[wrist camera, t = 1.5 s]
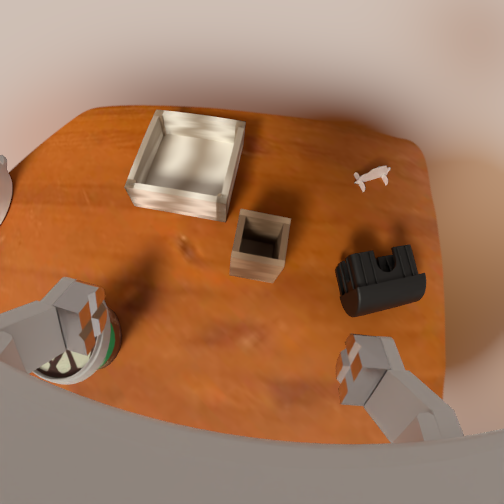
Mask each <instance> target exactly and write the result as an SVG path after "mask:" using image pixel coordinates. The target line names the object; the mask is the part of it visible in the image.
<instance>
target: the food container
mask: <svg viewBox="0 0 504 504" xmlns="http://www.w3.org/2000/svg"><path fill="white" fill-rule="evenodd" d="M102 303H103V304H104V305H105V307H106V308H107V321H106V324H105V328H104V330H103V332H102V333H101V334H100V335H98V336H96V337H95V342H96V343H95V345H94V346H93V348H92V350H91V351H90V353H89V355H88V356H86V355H82V354H79V353H76V352H73V351H69V350H66V351H65V352H63V353H62V354H60V355H58V356H57V357H55V358H54V359H52V360H50V361H49V362H47V363H45V364H44V365H42V366H41V367H39V368H37V369H36V370H34V371H33V373H35V374H36V375H38V376H39V377H41V378H43V379H45V380H47V381H51V382H54V383H58V384H75V383H78V382H81V381H83V380H85V379H87V378H88V377H90V376H91V375H92V374H93V373H94V372H95V371H96V370H98V369H102V368H104V367H106V366H108V365H109V364H110V363H111V362H112V361H113V360H114V359H115V358H116V356H117V354H118V352H119V349H120V346H121V339H122V334H121V327H120V323H119V320H118V318H117V316H116V314H115V312H113V311H112V310H111V309H110V308H108V307H107V306H106V303H105V301H104V300H103V302H102Z"/></svg>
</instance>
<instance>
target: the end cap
mask: <svg viewBox="0 0 504 504" xmlns="http://www.w3.org/2000/svg"><path fill="white" fill-rule="evenodd" d="M391 249H392V253H393V255H388V256H382V257H378V258H376V259H375V256H374V252H373V251H367V252H361V253H355V254H352V255H349V256H348V257H347V258H345V259H346V263H345V261H342V262H340V263H339V266H338V267H336V269H335V273H336V277H337V281H338V286H339V290H340V295H341V296H340V300H341V303H342V306H343V308H344V310H345V312H346V313H347V314H348V315H349V316H351V317H358V316H362V315H366V314H370V313H374V312H378V311H382V310H386V309H390V308H394V307H398V306H401V305H405V304H409V303H412V302H416V301H418V300H420V299H421V298H422V297H423V295H424V293H425V289H426V276H425V273H422V274H418V271H417V268H416V264H415V260H414V256H413V253H412V249H411V246H410V245H403V246H397V247H393V248H391Z"/></svg>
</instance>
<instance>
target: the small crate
mask: <svg viewBox="0 0 504 504" xmlns="http://www.w3.org/2000/svg"><path fill="white" fill-rule="evenodd" d="M290 222H291V218H286V217H281V216H276V215H271V214H266V213H261V212H255V211H250V210H245V209H241V210H240V215H239V220H238V224H237V229H236V234H235V239H234V244H233V249H232V254H231V262H230V274H229V275H231V276H237V277H242V278H247V279H252V280H258V281H263V282H269V283H273V282H274V281H275V279H276V278H277V276H278V275H279V274H280V272H281V271H282V269H283V268H284V264H285V257H286V251H287V244H288V237H289V229H290Z"/></svg>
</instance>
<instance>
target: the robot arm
mask: <svg viewBox="0 0 504 504" xmlns="http://www.w3.org/2000/svg"><path fill="white" fill-rule="evenodd" d="M11 197H12V180H11V177H10V175H9V173H8V171H7V159H6V158H5V157H4V156H3V155H0V224H1V223H2V221H3V219H4V217H5V215H6V213H7V211H8V208H9V205H10V202H11ZM104 299H105V291H104V288H103V287H101V286H98V285H94V284H90V283H87V282H83V281H80V280H76V279H72V278H69V277H63V278H62V279H61V280H60V281H59V282H58V283H57V284H56V285H55V286H54V287H53V288H52V289H51V290H50V291H49V292H48V293H47V295H46V296H45V297H44V298H43V299H42V300H41V301H40V302H39V301H34V302H31V303H29V304H26V305H23V306H21V307H18V308H15V309H12V310H10V311H7V312H4V313H2V314H0V504H504V429H500V430H496V431H491V432H486V433H480V434H475V435H469V436H464V435H463V432H462V429H461V427H460V424H459V422H458V419H457V416H456V414H455V411H454V410H453V409H452V408H451V407H450V406H449V405H448V404H446V403H445V402H444V401H443V400H442V399H441V398H440V397H438V396H437V395H436V394H435V393H434V392H433V391H432V390H430V389H429V388H428V387H427V386H426V385H425V384H424V383H422V382H421V381H420V380H419V379H418V378H417V377H416V376H414V375H413V374H412V373H411V372H410V371H405V368H404V365H403V363H402V360H401V358H400V355H399V353H398V350H397V348H396V345H395V343H394V340H393V339H392V338H391V337H381V336H377V337H376V336H367V335H359V334H350V335H349V336H348V337H347V339H346V341H345V345H346V349H344V350H343V351H341V352H340V354H339V357H338V359H337V363H336V379H337V380H338V381H339V382H340V383H341V384H340V386H339V388H338V391H339V397H340V403H341V404H344V405H357V406H364V408H365V410H366V411H367V412H368V414H369V415H370V416H371V417H372V419H373V420H374V421H375V423H376V424H377V425H378V427H379V428H380V429H381V430H382V432H383V433H384V434H385V436H386V437H387V438H388V440H389V441H390V442H391V443H390V444H321V443H303V442H290V441H279V440H269V439H260V438H252V437H245V436H238V435H232V434H225V433H219V432H214V431H208V430H203V429H198V428H193V427H188V426H184V425H179V424H175V423H171V422H166V421H162V420H158V419H154V418H151V417H147V416H143V415H140V414H136V413H132V412H129V411H126V410H122V409H119V408H116V407H113V406H110V405H106V404H103V403H100V402H97V401H95V400H92V399H89V398H86V397H83V396H80V395H78V394H75V393H72V392H70V391H67V390H65V389H62V388H60V387H57V386H55V385H52V384H50V383H48V382H45V381H43V380H41V379H38V378H36V377H34V376H31V375H29V373H31V372H33V371H34V370H36V369H37V368H39V367H41V366H42V365H44V364H45V363H47V362H49V361H50V360H52V359H54V358H55V357H57V356H58V355H60V354H62V353H63V352H65V351H66V350H69V351H73V352H76V353H79V354H82V355H86V356H88V355H89V353H90V351H91V350H92V348H93V346H94V345H95V343H96V342H95V337H96V336H98V335H100V334H101V333H102V332H103V330H104V328H105V324H106V321H107V308H106V307H105V305H104V304H103V303H102V302H103V300H104Z"/></svg>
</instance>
